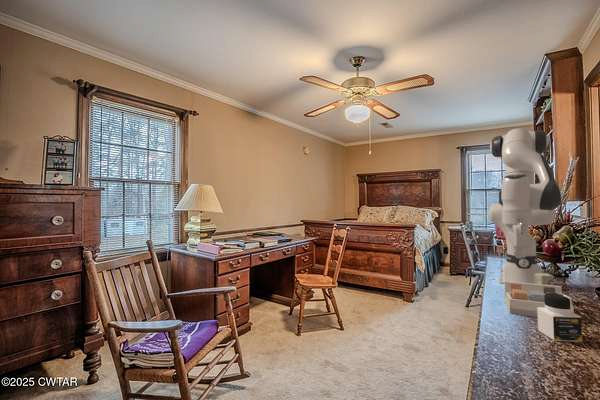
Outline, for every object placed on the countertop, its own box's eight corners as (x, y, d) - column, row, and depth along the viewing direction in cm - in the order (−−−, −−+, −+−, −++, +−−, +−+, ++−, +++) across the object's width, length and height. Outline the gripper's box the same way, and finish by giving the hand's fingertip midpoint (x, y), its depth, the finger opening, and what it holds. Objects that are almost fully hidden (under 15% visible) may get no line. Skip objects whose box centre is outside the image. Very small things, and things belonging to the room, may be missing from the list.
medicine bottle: (554, 341, 83) (552, 298, 83) (537, 330, 90) (536, 290, 90) (583, 342, 82) (581, 298, 82) (563, 331, 89) (562, 291, 89)
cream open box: (505, 301, 116) (504, 281, 117) (561, 308, 108) (560, 286, 108) (510, 313, 104) (509, 290, 104) (574, 321, 95) (573, 296, 96)
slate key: (529, 297, 107) (528, 290, 107) (542, 298, 105) (542, 291, 105) (531, 301, 103) (531, 294, 103) (545, 302, 101) (545, 295, 101)
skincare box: (555, 302, 115) (554, 275, 115) (542, 301, 116) (541, 275, 116) (547, 297, 120) (546, 273, 120) (534, 297, 121) (533, 272, 121)
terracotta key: (512, 295, 109) (512, 288, 110) (524, 296, 108) (524, 289, 108) (514, 299, 105) (513, 292, 105) (527, 300, 103) (527, 293, 103)
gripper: (533, 220, 96) (535, 263, 96) (522, 217, 114) (524, 253, 114) (510, 220, 99) (511, 261, 99) (503, 217, 117) (504, 252, 117)
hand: (518, 257), depth 107 cm, fingers closed
